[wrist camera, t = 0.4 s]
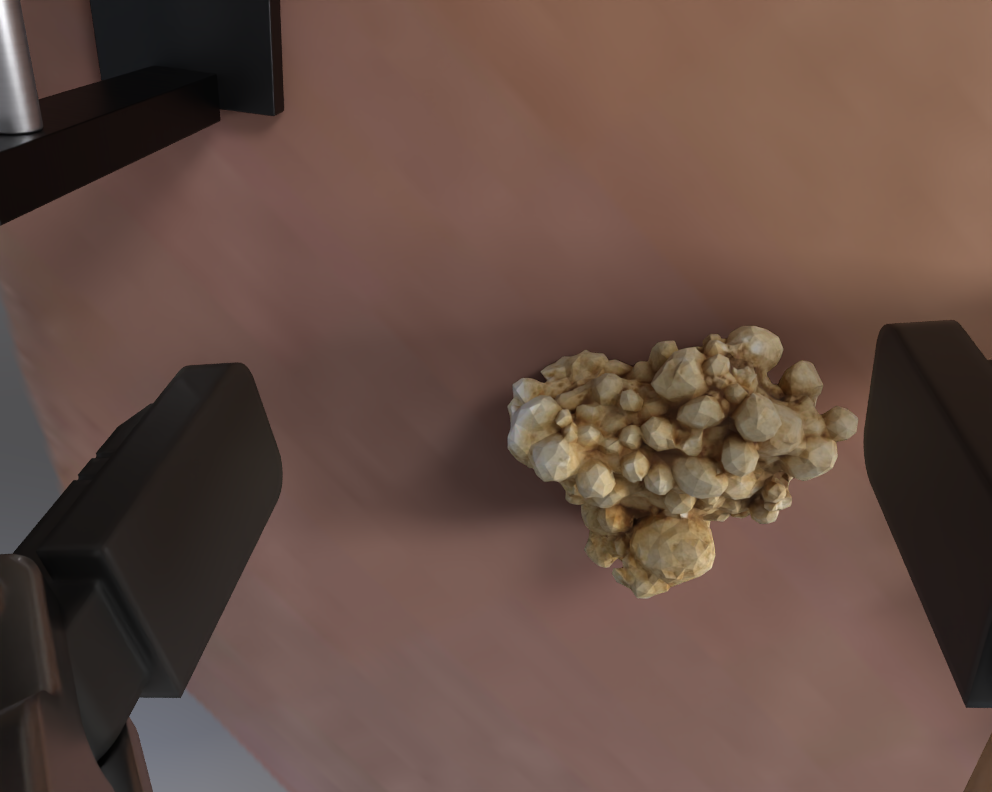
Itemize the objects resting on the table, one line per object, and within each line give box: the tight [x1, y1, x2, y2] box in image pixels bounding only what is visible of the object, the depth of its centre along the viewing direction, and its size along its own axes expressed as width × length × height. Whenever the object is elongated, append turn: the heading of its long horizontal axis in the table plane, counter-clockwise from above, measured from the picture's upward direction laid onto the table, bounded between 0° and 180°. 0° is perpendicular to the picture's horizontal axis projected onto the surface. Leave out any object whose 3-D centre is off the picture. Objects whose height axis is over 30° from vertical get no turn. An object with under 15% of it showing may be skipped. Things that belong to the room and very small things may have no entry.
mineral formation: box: [508, 326, 858, 598], centre depth 39 cm, size 8×13×15 cm
